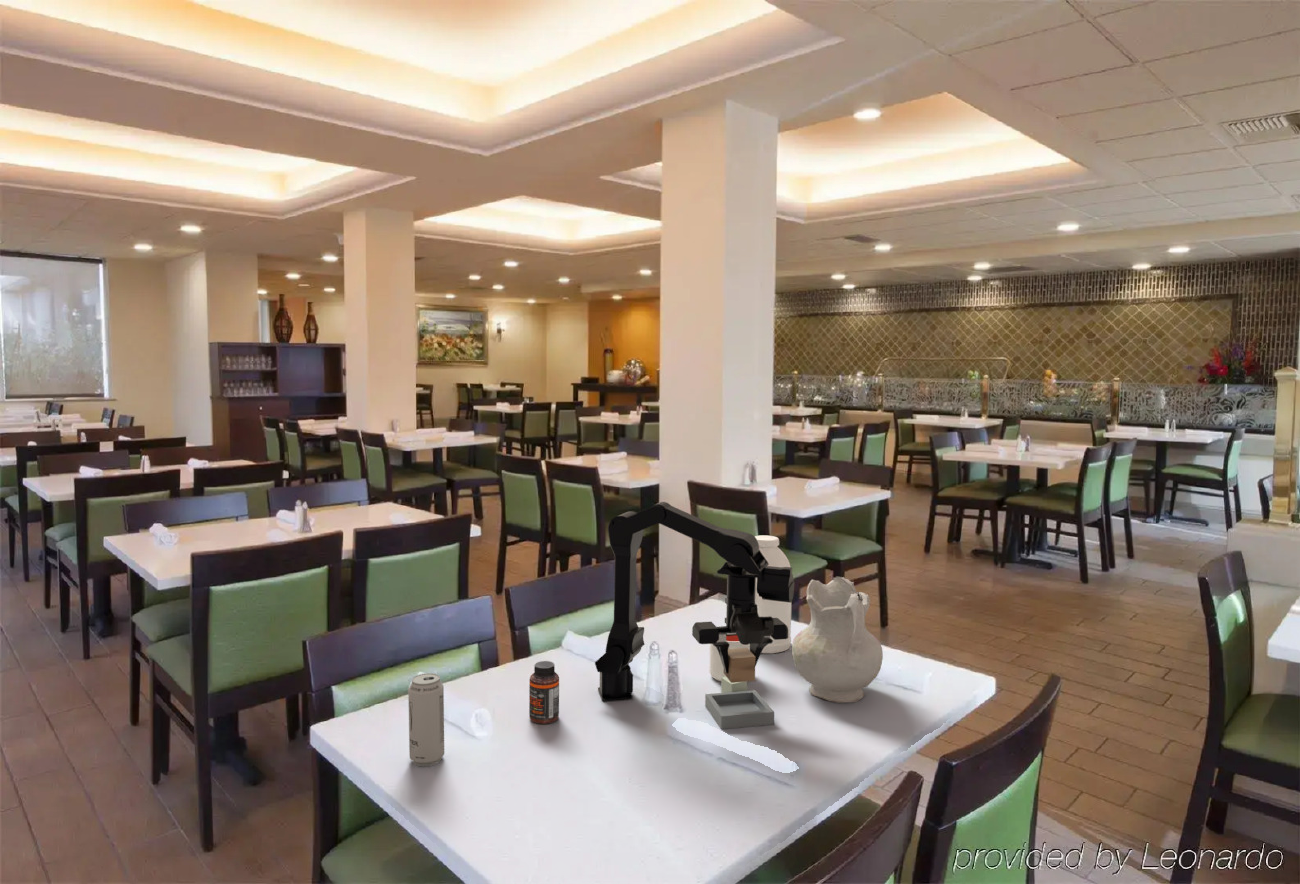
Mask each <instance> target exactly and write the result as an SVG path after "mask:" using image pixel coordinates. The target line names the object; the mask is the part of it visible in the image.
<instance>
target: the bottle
mask: <svg viewBox="0 0 1300 884" xmlns="http://www.w3.org/2000/svg"><path fill="white" fill-rule="evenodd" d="M754 537H755V538H756V539H757V542H758V544H759V550H760V551H761V553H762V554H763V556H764V557H765V559H766V560H767V562H768V563H769V565H768V566H772V567H791V564H790V563H791V562H790V560H789V559H788V557H787V555H786V554H785V552H784V551H782V550H781V548H779V547H778V546H780V539H779V537H777V536H773V535H760V534H759V535H754ZM791 568H792V567H791ZM755 604H757V608H758V610H757V612H758V615H759V617H772V618H778V619H779V620H781V621H782V622H783V623H784V624H785V625H786V626H787V627H788V638H787V639H778V640H774V639H773V638H772V637H771V636H770V639H772V640H773V642H772V643H771V644H768V645H766V646H765V647H764V648H763V650H762V652H761V654H775V653H776V654H777V653H782V652H785V651H787V650H788V649H790V648H791V645H792V644H791V642H792V635H791V633H792V631H791V630H792V629H791V628H792V602H791V603H789V602H780V601H772V600H763V599H762V597H759V594H758V593H757V578H756V591H755Z"/></svg>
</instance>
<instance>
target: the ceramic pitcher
mask: <svg viewBox="0 0 1300 884" xmlns="http://www.w3.org/2000/svg"><path fill="white" fill-rule="evenodd" d="M854 583H855V582H854V581H850V580H849V579H847V578H845V576H843V577H842V576H835V577H832V580H830V581H829V582H828V583H827V584H824V583H822V582H821V581H820V580H815V579H811V580H810V581H809V583H808V584H807V587H806V602H807V604H808V607H809V610H810V622H809V624H808V626H806V627H805V628H804V629H802V630H800V631H799V632H798V633H797V634H796V635H795V636H794V638H793V640H792V644H791V652H792V658H793V664H794V665H795V668H796V670H797V672H798V673H799V675H800V676H801V677H802V678H803V679H804V680H805V681H806V682H808V683H809V684H811V685H810V686H809V689H808V690H809V694H810V695H811V696H812V697H813V696H814V697H816V698H818V699H819V698H820V699H823V700H824V701H829V702H832V703H836V704H842V703H843V704H844V703H857V702H859V701H860V700H861V699H863V698H864V697H865V696H866V694H865V692H864V691H863V688H867V687H868V686H870V684H871V683H873V681H874V680H875V679H877V677H878V675H879V673H880V671H881V669H882V664H883V658H884V657H883V656H884V655H883V652H884V651H883V648H882V644H881V642H880V641H879V640H878V638H877V637H876V636H875V635H873V634H871V633H870V632H869V631H868V629H867V628H866V625H865V619H866V615H867V613H868V610H869V608H870V605H871V599H870V596H869V594H867V593H865V592H862V591H857V588H856V586H855V585H854Z"/></svg>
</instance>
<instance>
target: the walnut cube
mask: <svg viewBox="0 0 1300 884" xmlns="http://www.w3.org/2000/svg"><path fill="white" fill-rule="evenodd" d="M728 660H729V671H728V673H726V672H725V670H724V674H725V676H726V677H727V678H728V679H729V681H730V682H731V683H735V682H746V681H747V682H755V681H756V666H755V656H754V655H753V654H752V653H751V651H750V650H749V649H748V648H738V649H728Z"/></svg>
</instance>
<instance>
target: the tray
mask: <svg viewBox="0 0 1300 884" xmlns="http://www.w3.org/2000/svg"><path fill="white" fill-rule="evenodd" d="M704 699H705V700H704V706H705V708H706V710H707V711H708V713H709V714H710V716H712V719H714V721H715V722H716V724H717V725H718V726H719V728H720V729H721V730H725V729H726V730H727V729H736V728H737V729H738V728H747V727H759V726H760V727H761V726H771V725H775V711H774V709H773V708H772V707H771V706H770V705H769V704H768V702H766V701H765V699H764V698H763V697H762V696H761V695H760V694H759V692H757V690H755V689H753V690H747V691H738V692H726V693H721V692H716V693H705V698H704Z"/></svg>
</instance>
